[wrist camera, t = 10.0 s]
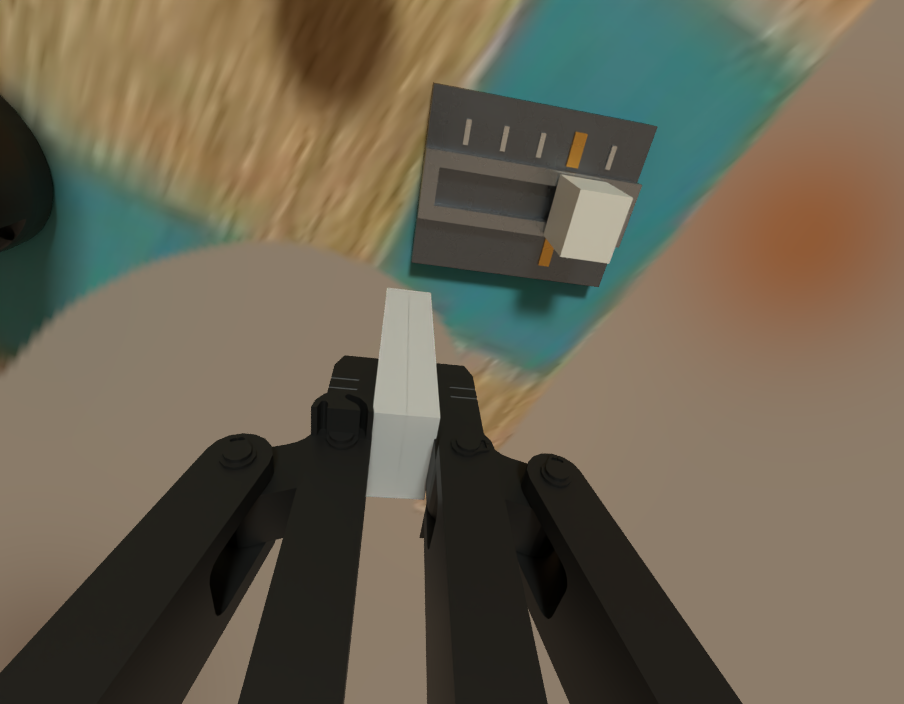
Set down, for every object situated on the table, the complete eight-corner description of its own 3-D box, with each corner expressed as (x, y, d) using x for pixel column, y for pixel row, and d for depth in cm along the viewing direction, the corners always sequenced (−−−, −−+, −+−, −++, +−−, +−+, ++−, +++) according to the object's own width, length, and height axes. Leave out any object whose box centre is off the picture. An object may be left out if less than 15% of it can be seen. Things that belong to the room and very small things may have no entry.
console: (411, 254, 42) (411, 266, 39) (433, 82, 35) (434, 83, 32) (591, 278, 45) (602, 291, 42) (646, 123, 37) (663, 128, 35)
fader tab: (539, 230, 39) (560, 256, 34) (556, 171, 37) (580, 189, 31) (582, 237, 40) (609, 263, 35) (601, 178, 37) (633, 197, 32)
